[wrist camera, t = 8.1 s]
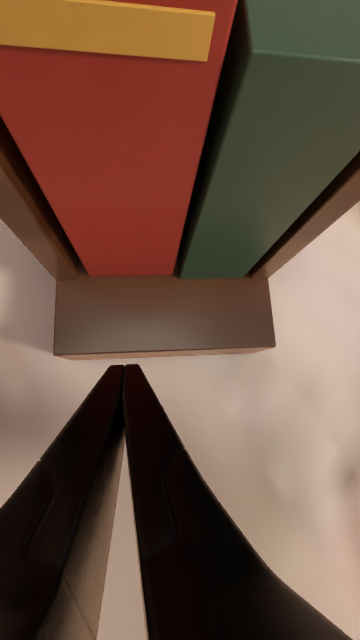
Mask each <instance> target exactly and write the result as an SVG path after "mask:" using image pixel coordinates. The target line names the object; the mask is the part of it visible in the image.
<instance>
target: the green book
mask: <svg viewBox="0 0 360 640" xmlns="http://www.w3.org/2000/svg"><path fill="white" fill-rule="evenodd" d="M359 151H360V0H238V2H237V6H236V10H235V14H234V19H233V23H232V27H231V31H230V35H229V40H228V44H227V48H226V52H225V56H224V61H223V65H222V69H221V73H220V77H219V82H218V86H217V90H216V94H215V98H214V103H213V107H212V111H211V115H210V120H209V124H208V128H207V132H206V136H205V141H204V145H203V149H202V153H201V157H200V162H199V166H198V170H197V174H196V178H195V183H194V187H193V191H192V195H191V199H190V204H189V208H188V212H187V216H186V221H185V225H184V229H183V233H182V237H181V242H180V246H179V250H178V265H179V278H180V279H233V278H243V277H244V275H245V274H246V273H247V272H248V271H249V270H250V269H251V268H252V267H253V266H254V265H255V264H256V262H257V261H258V260H259V259H260V258H261V257H262V256H263V255H264V254H265V253H266V252H267V251H268V249H269V248H270V247H271V246H272V245H273V244H274V243H275V242H276V241H277V240H278V239H279V238H280V236H281V235H282V234H283V233H284V232H285V231H286V230H287V229H288V228H289V227H290V226H291V225H292V223H293V222H294V221H295V220H296V219H297V218H298V217H299V216H300V215H301V214H302V213H303V212H304V210H305V209H306V208H307V207H308V206H309V205H310V204H311V203H312V202H313V201H314V200H315V199H316V197H317V196H318V195H319V194H320V193H321V192H322V191H323V190H324V189H325V188H326V187H327V186H328V184H329V183H330V182H331V181H332V180H333V179H334V178H335V177H336V176H337V175H338V174H339V172H340V171H341V170H342V169H343V168H344V167H345V166H346V165H347V164H348V163H349V162H350V161H351V159H352V158H353V157H354V156H355V155H356V154H357V153H358V152H359Z"/></svg>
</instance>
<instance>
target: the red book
mask: <svg viewBox="0 0 360 640" xmlns="http://www.w3.org/2000/svg"><path fill="white" fill-rule="evenodd" d="M237 2H238V0H0V116H1V118H2V119H3V121H4V123H5V125H6V127H7V128H8V130H9V132H10V134H11V136H12V137H13V139H14V141H15V143H16V145H17V146H18V148H19V150H20V152H21V154H22V155H23V157H24V159H25V161H26V163H27V164H28V166H29V168H30V170H31V172H32V173H33V175H34V177H35V179H36V181H37V182H38V184H39V186H40V188H41V190H42V191H43V193H44V195H45V197H46V199H47V200H48V202H49V204H50V206H51V208H52V209H53V211H54V213H55V215H56V217H57V218H58V220H59V222H60V224H61V226H62V228H63V229H64V231H65V233H66V235H67V237H68V238H69V240H70V242H71V244H72V246H73V247H74V249H75V251H76V253H77V255H78V256H79V258H80V260H81V262H82V264H83V265H84V267H85V269H86V271H87V273H88V274H89V276H137V275H173V271H174V267H175V263H176V258H177V254H178V250H179V246H180V242H181V237H182V233H183V229H184V225H185V221H186V216H187V212H188V208H189V204H190V199H191V195H192V191H193V187H194V183H195V178H196V174H197V170H198V166H199V162H200V157H201V153H202V149H203V145H204V141H205V136H206V132H207V128H208V124H209V120H210V115H211V111H212V107H213V103H214V98H215V94H216V90H217V86H218V82H219V77H220V73H221V69H222V65H223V61H224V56H225V52H226V48H227V44H228V40H229V35H230V31H231V27H232V23H233V19H234V14H235V10H236V6H237Z"/></svg>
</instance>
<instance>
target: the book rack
mask: <svg viewBox="0 0 360 640" xmlns="http://www.w3.org/2000/svg"><path fill="white" fill-rule="evenodd" d="M359 201H360V151H359V152H358V153H357V154H356V155H355V156H354V157H353V158H352V159H351V161H350V162H349V163H348V164H347V165H346V166H345V167H344V168H343V169H342V170H341V171H340V172H339V174H338V175H337V176H336V177H335V178H334V179H333V180H332V181H331V182H330V183H329V184H328V186H327V187H326V188H325V189H324V190H323V191H322V192H321V193H320V194H319V195H318V196H317V197H316V199H315V200H314V201H313V202H312V203H311V204H310V205H309V206H308V207H307V208H306V209H305V210H304V212H303V213H302V214H301V215H300V216H299V217H298V218H297V219H296V220H295V221H294V222H293V223H292V225H291V226H290V227H289V228H288V229H287V230H286V231H285V232H284V233H283V234H282V235H281V236H280V238H279V239H278V240H277V241H276V242H275V243H274V244H273V245H272V246H271V247H270V248H269V249H268V251H267V252H266V253H265V254H264V255H263V256H262V257H261V258H260V259H259V260H258V261H257V262H256V264H255V265H254V266H253V267H252V268H251V269H250V270H249V271H248V272H247V273H246V274H245V275H244V277H243V278H233V279H180V278H179V265H178V254H177V258H176V263H175V267H174V271H173V275H137V276H89V274H88V273H87V271H86V269H85V267H84V265H83V264H82V262H81V260H80V258H79V256H78V255H77V253H76V251H75V249H74V247H73V246H72V244H71V242H70V240H69V238H68V237H67V235H66V233H65V231H64V229H63V228H62V226H61V224H60V222H59V220H58V218H57V217H56V215H55V213H54V211H53V209H52V208H51V206H50V204H49V202H48V200H47V199H46V197H45V195H44V193H43V191H42V190H41V188H40V186H39V184H38V182H37V181H36V179H35V177H34V175H33V173H32V172H31V170H30V168H29V166H28V164H27V163H26V161H25V159H24V157H23V155H22V154H21V152H20V150H19V148H18V146H17V145H16V143H15V141H14V139H13V137H12V136H11V134H10V132H9V130H8V128H7V127H6V125H5V123H4V121H3V119H2V118H1V116H0V218H1V219H2V220H3V222H4V223H5V224H6V225H7V226H8V227H9V228H10V229H11V230H12V232H13V233H14V234H15V235H16V236H17V237H18V238H19V239H20V240H21V241H22V243H23V244H24V245H25V246H26V247H27V248H28V249H29V250H30V251H31V253H32V254H33V255H34V256H35V257H36V258H37V259H38V260H39V261H40V262H41V264H42V265H43V266H44V267H45V268H46V269H47V270H48V271H49V272H50V274H51V275H52V276H53V277H54V278H55V279H56V300H55V325H54V350H53V354H54V356H58V357H61V358H65V359H69V360H90V359H115V358H139V357H163V356H188V355H212V354H237V353H255V352H258V351H262V350H266V349H270V348H274V347H276V343H275V334H274V326H273V317H272V309H271V300H270V292H269V283H268V278H269V277H270V276H271V275H273V274H274V273H275V272H276V271H277V270H279V269H280V268H281V267H282V266H283V265H284V264H286V263H287V262H288V261H289V260H290V259H291V258H293V257H294V256H295V255H296V254H297V253H299V252H300V251H301V250H302V249H303V248H304V247H306V246H307V245H308V244H309V243H310V242H312V241H313V240H314V239H315V238H316V237H317V236H319V235H320V234H321V233H322V232H323V231H324V230H326V229H327V228H328V227H329V226H330V225H332V224H333V223H334V222H335V221H336V220H337V219H339V218H340V217H341V216H342V215H343V214H345V213H346V212H347V211H348V210H349V209H350V208H352V207H353V206H354V205H355V204H356V203H358V202H359Z"/></svg>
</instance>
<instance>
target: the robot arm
mask: <svg viewBox="0 0 360 640" xmlns="http://www.w3.org/2000/svg"><path fill="white" fill-rule="evenodd" d="M125 438H126V448H127V458H128V467H129V477H130V486H131V496H132V505H133V515H134V524H135V534H136V543H137V553H138V562H139V572H140V581H141V590H142V600H143V609H144V619H145V628H146V638H147V640H352V639H351V638H350V637H349V636H348V635H346V634H345V633H344V632H343V631H342V630H340V629H339V628H338V627H337V626H336V625H334V624H333V623H332V622H331V621H330V620H328V619H327V618H326V617H325V616H323V615H322V614H321V613H320V612H319V611H317V610H316V609H315V608H314V607H313V606H311V605H310V604H309V603H308V602H307V601H305V600H304V599H303V598H302V597H301V596H299V595H298V594H297V593H296V592H295V591H293V590H292V589H291V588H290V587H289V586H287V585H286V584H285V583H284V582H283V581H282V580H281V579H280V578H279V577H278V576H277V575H276V574H275V573H274V572H273V571H272V570H271V569H270V568H269V567H268V566H267V564H266V563H265V562H264V561H263V560H262V558H261V557H260V556H259V555H258V553H257V552H256V551H255V550H254V548H253V547H252V546H251V544H250V543H249V541H248V540H247V539H246V537H245V536H244V535H243V533H242V532H241V531H240V529H239V528H238V527H237V525H236V524H235V522H234V521H233V520H232V518H231V517H230V516H229V514H228V513H227V512H226V510H225V509H224V507H223V506H222V505H221V503H220V502H219V501H218V499H217V498H216V496H215V495H214V494H213V492H212V491H211V489H210V488H209V486H208V485H207V483H206V482H205V481H204V479H203V477H202V476H201V474H200V472H199V471H198V469H197V468H196V466H195V464H194V463H193V461H192V459H191V457H190V455H189V454H188V452H187V450H186V449H185V447H184V445H183V443H182V441H181V440H180V438H179V436H178V434H177V432H176V431H175V429H174V427H173V425H172V423H171V422H170V420H169V418H168V416H167V414H166V413H165V411H164V409H163V407H162V405H161V404H160V402H159V400H158V398H157V396H156V395H155V393H154V391H153V389H152V387H151V386H150V384H149V382H148V380H147V378H146V377H145V375H144V373H143V371H142V369H141V368H140V366H139V365H138V364H128V365H125V367H124V365H111V366H109V368H108V369H107V370H106V372H105V373H104V374H103V376H102V377H101V378H100V380H99V381H98V382H97V384H96V385H95V386H94V388H93V389H92V390H91V392H90V393H89V394H88V396H87V397H86V398H85V400H84V401H83V402H82V404H81V405H80V406H79V408H78V409H77V410H76V412H75V413H74V414H73V416H72V417H71V418H70V420H69V421H68V422H67V424H66V425H65V426H64V428H63V429H62V430H61V432H60V433H59V434H58V436H57V437H56V438H55V440H54V441H53V442H52V444H51V445H50V446H49V448H48V449H47V450H46V451H45V453H44V454H43V455H42V457H41V458H40V460H41V461H38V462H37V463H36V465H35V466H34V467H33V469H32V470H31V471H30V473H29V474H28V475H27V477H26V478H25V479H24V480H23V482H22V483H21V484H20V485H19V487H18V488H17V489H16V490H15V492H14V493H13V494H12V495H11V497H10V498H9V499H8V500H7V501H6V502H5V504H4V505H3V506H2V507H1V508H0V640H96V638H97V631H98V625H99V618H100V611H101V604H102V597H103V590H104V583H105V576H106V569H107V562H108V555H109V548H110V542H111V535H112V528H113V521H114V514H115V507H116V500H117V493H118V486H119V479H120V472H121V466H122V459H123V452H124V444H125Z"/></svg>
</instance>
